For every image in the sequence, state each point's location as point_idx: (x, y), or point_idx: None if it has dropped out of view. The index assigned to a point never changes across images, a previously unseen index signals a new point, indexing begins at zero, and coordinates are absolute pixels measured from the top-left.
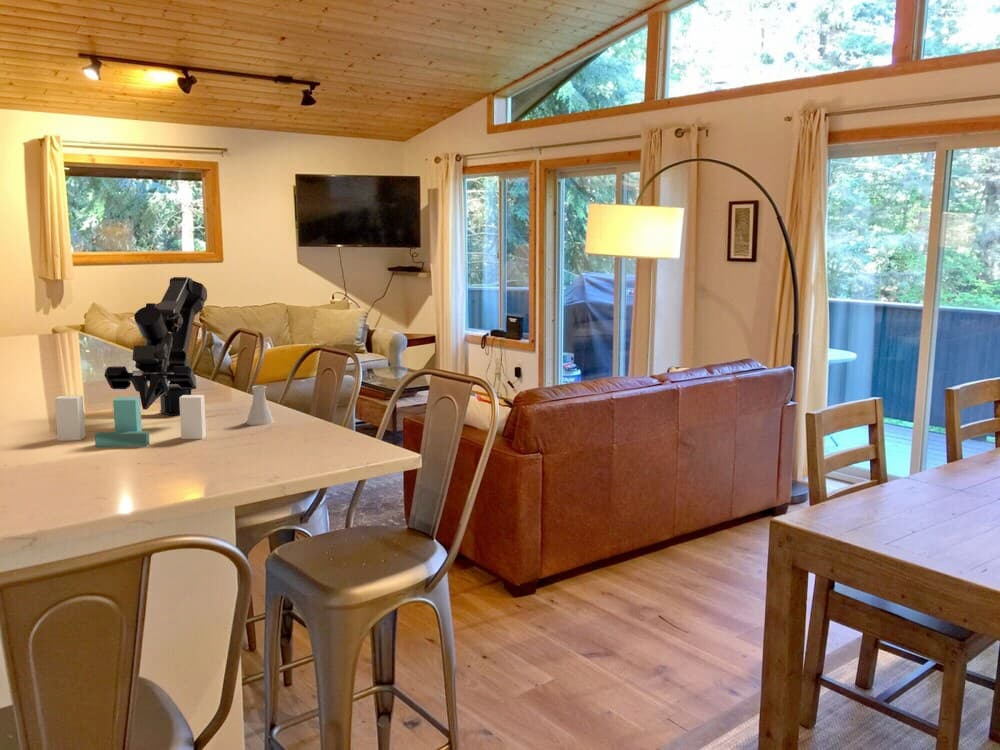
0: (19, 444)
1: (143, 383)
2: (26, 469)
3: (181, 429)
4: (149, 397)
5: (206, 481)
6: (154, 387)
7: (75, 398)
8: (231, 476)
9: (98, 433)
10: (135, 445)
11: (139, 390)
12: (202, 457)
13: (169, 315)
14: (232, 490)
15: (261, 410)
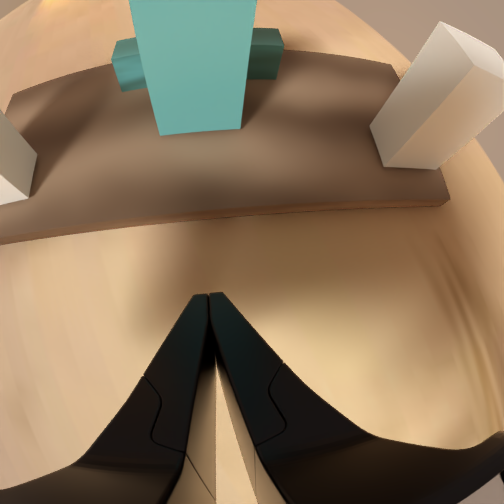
0: (495, 187)
1: (282, 470)
2: (335, 14)
3: (20, 137)
4: (168, 345)
5: (35, 13)
6: (111, 436)
7: (443, 23)
8: (5, 35)
9: (269, 31)
10: None
11: (302, 386)
12: (15, 89)
13: None
14: (19, 8)
15: None
